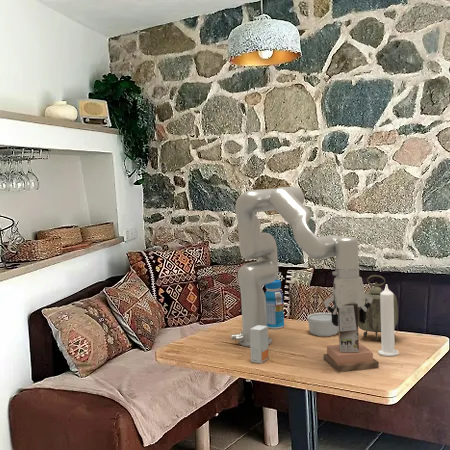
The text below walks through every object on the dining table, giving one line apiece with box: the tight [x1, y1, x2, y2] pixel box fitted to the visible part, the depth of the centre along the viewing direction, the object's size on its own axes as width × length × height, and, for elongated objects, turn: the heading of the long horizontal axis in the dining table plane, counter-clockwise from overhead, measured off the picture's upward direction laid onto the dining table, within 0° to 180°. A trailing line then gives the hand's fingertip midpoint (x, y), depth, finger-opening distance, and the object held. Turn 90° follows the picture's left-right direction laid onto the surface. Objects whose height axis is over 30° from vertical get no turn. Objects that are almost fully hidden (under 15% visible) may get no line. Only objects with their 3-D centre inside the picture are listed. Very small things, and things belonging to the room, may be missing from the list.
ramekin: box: [307, 312, 339, 337], centre depth 243 cm, size 13×13×7 cm
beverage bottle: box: [264, 279, 285, 330], centre depth 256 cm, size 8×8×20 cm
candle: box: [377, 283, 400, 357], centre depth 211 cm, size 7×7×25 cm
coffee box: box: [337, 304, 360, 353], centre depth 202 cm, size 9×6×16 cm
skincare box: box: [249, 325, 270, 364], centre depth 210 cm, size 6×4×12 cm
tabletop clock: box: [358, 274, 399, 342], centre depth 229 cm, size 14×9×25 cm, turn 63°
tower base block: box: [323, 353, 380, 373], centre depth 203 cm, size 14×14×3 cm
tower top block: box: [326, 342, 374, 365], centre depth 203 cm, size 12×12×3 cm
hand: (349, 323), depth 202 cm, fingers open, 9 cm apart
